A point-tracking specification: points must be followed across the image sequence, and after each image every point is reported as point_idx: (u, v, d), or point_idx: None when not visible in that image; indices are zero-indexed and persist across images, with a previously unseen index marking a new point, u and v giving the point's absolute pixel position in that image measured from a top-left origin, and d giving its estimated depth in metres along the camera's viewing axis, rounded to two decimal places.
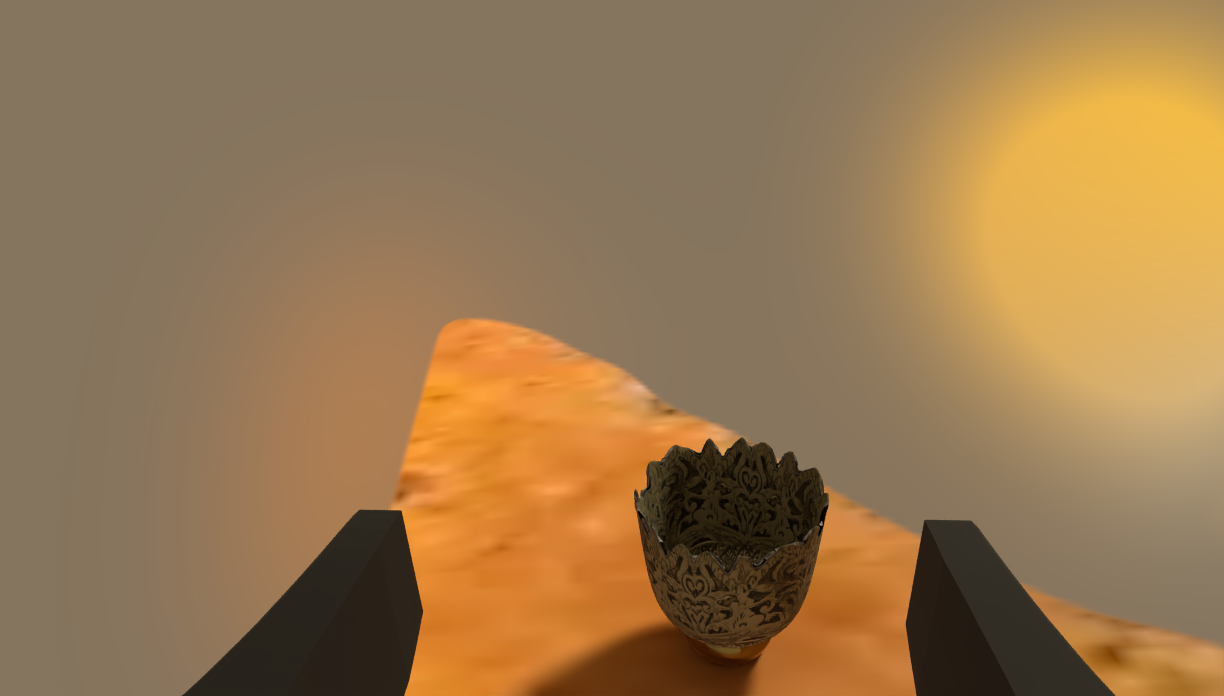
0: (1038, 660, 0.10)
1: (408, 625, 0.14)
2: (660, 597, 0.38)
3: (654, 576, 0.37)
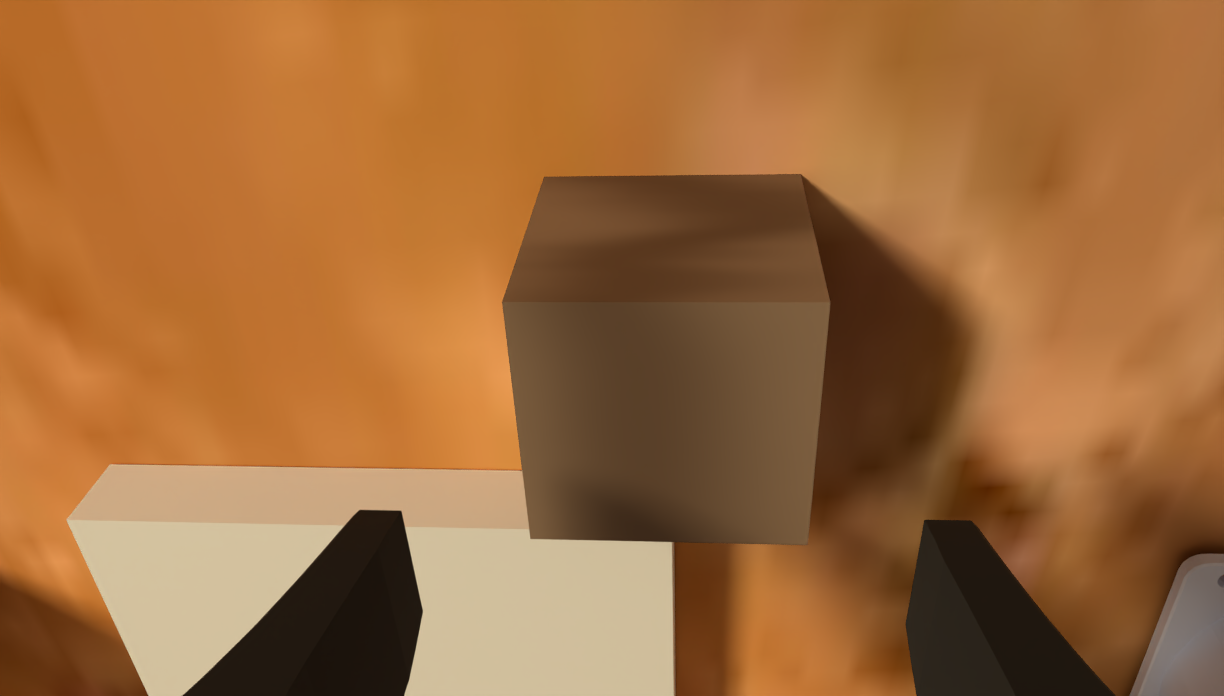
0: (1038, 660, 0.10)
1: (408, 625, 0.14)
2: None
3: None
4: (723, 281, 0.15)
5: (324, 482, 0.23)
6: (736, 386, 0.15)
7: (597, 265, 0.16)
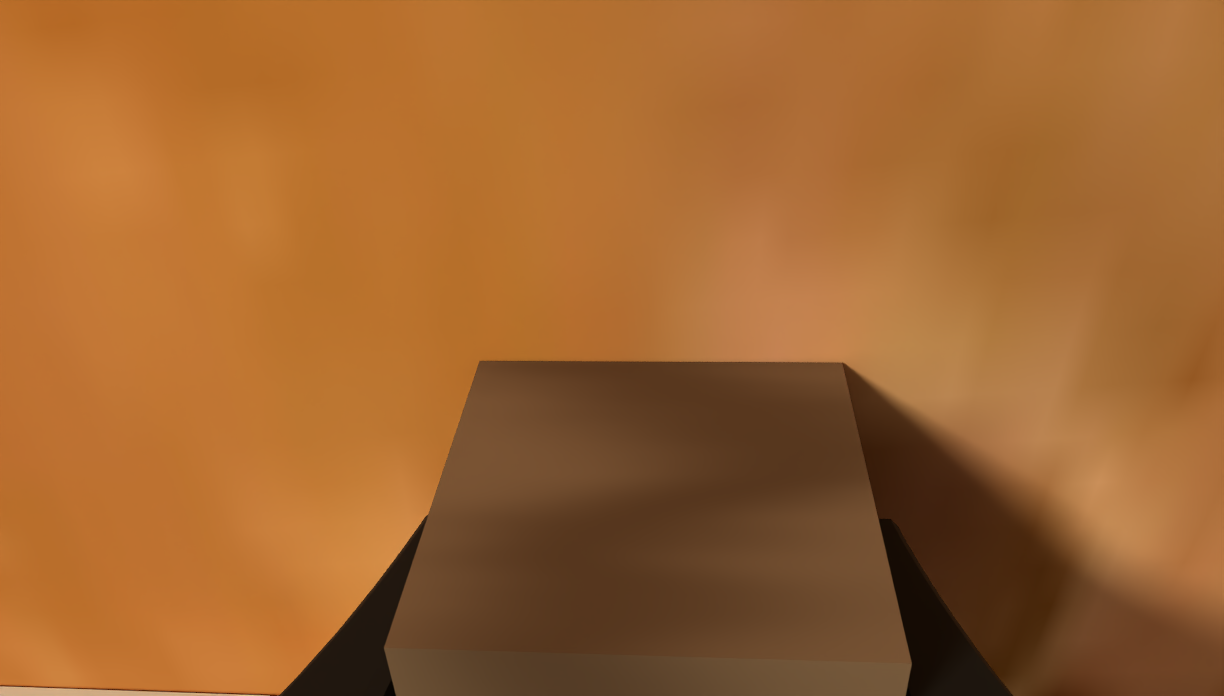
0: (937, 657, 0.10)
1: None
2: None
3: None
4: (737, 604, 0.10)
5: None
6: None
7: (540, 558, 0.10)
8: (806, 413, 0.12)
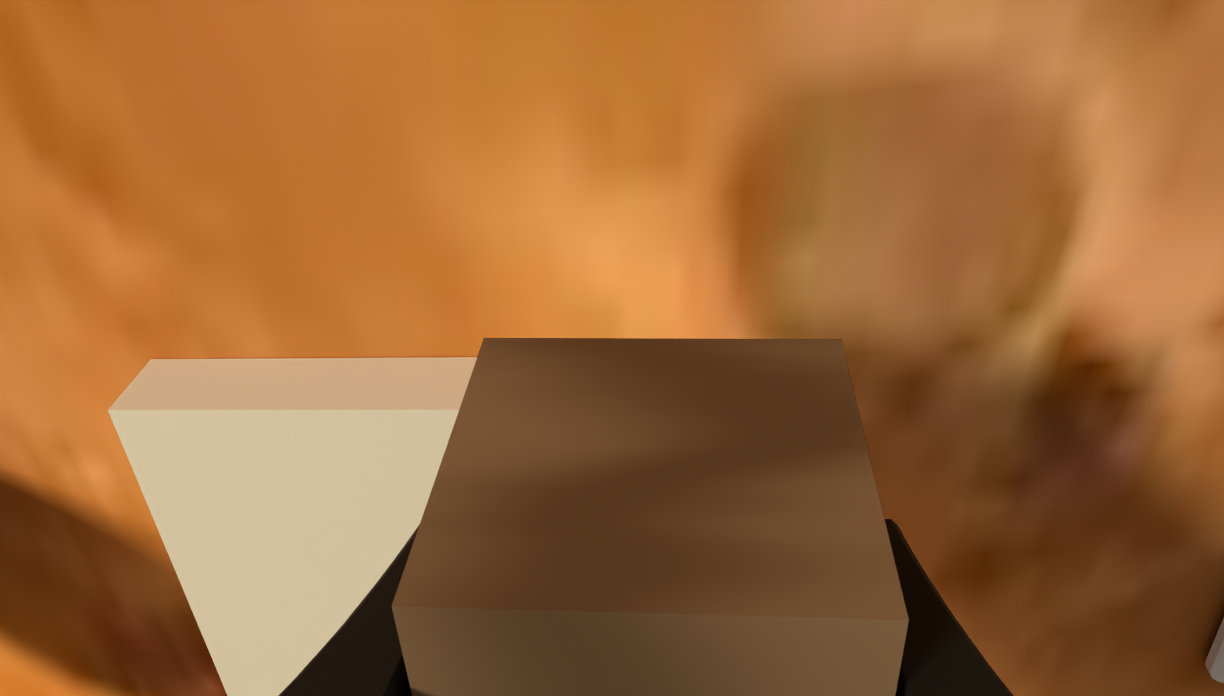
0: (938, 657, 0.10)
1: None
2: None
3: None
4: (738, 565, 0.10)
5: (379, 371, 0.22)
6: None
7: (545, 522, 0.10)
8: (805, 387, 0.12)
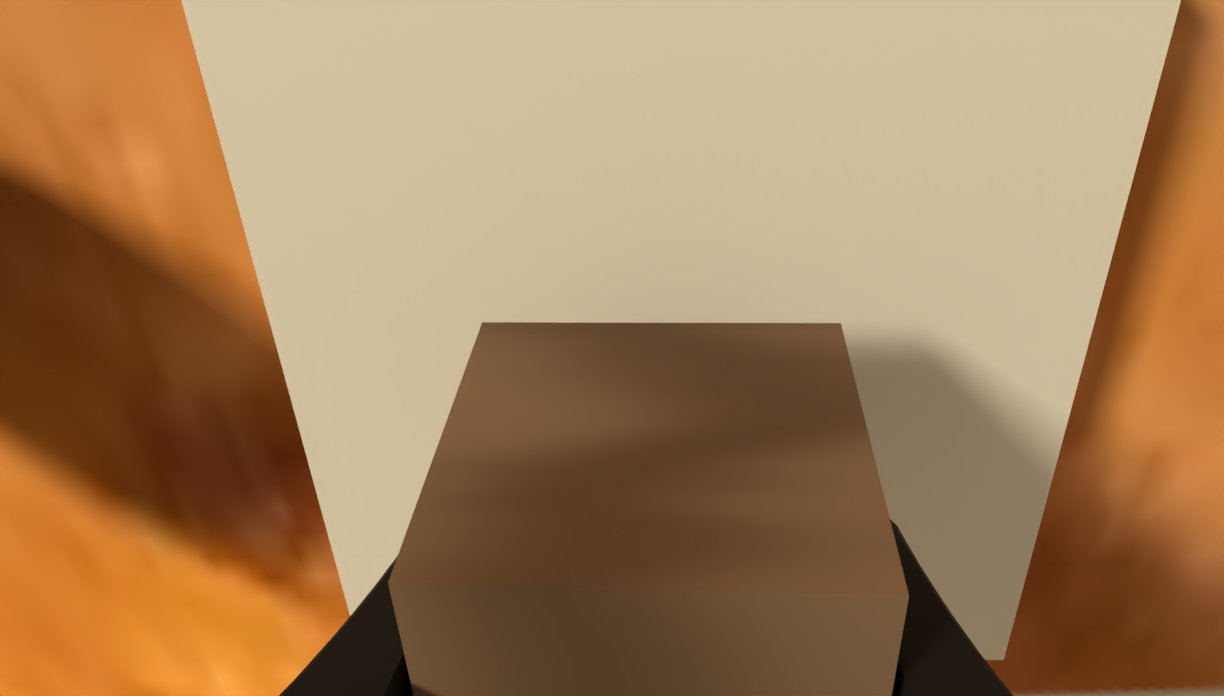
0: (937, 657, 0.10)
1: None
2: None
3: None
4: (736, 542, 0.10)
5: None
6: None
7: (543, 501, 0.10)
8: (805, 369, 0.12)
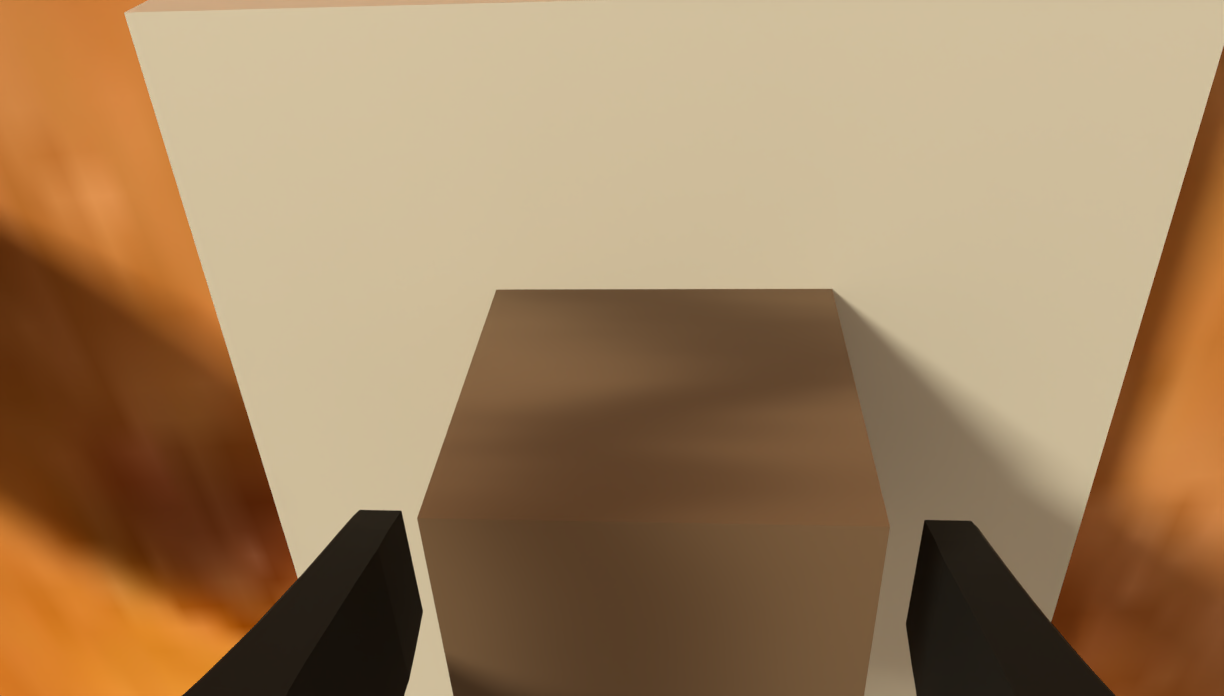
0: (1038, 660, 0.10)
1: (408, 625, 0.14)
2: None
3: None
4: (733, 481, 0.11)
5: None
6: (752, 626, 0.11)
7: (556, 447, 0.11)
8: (798, 330, 0.13)
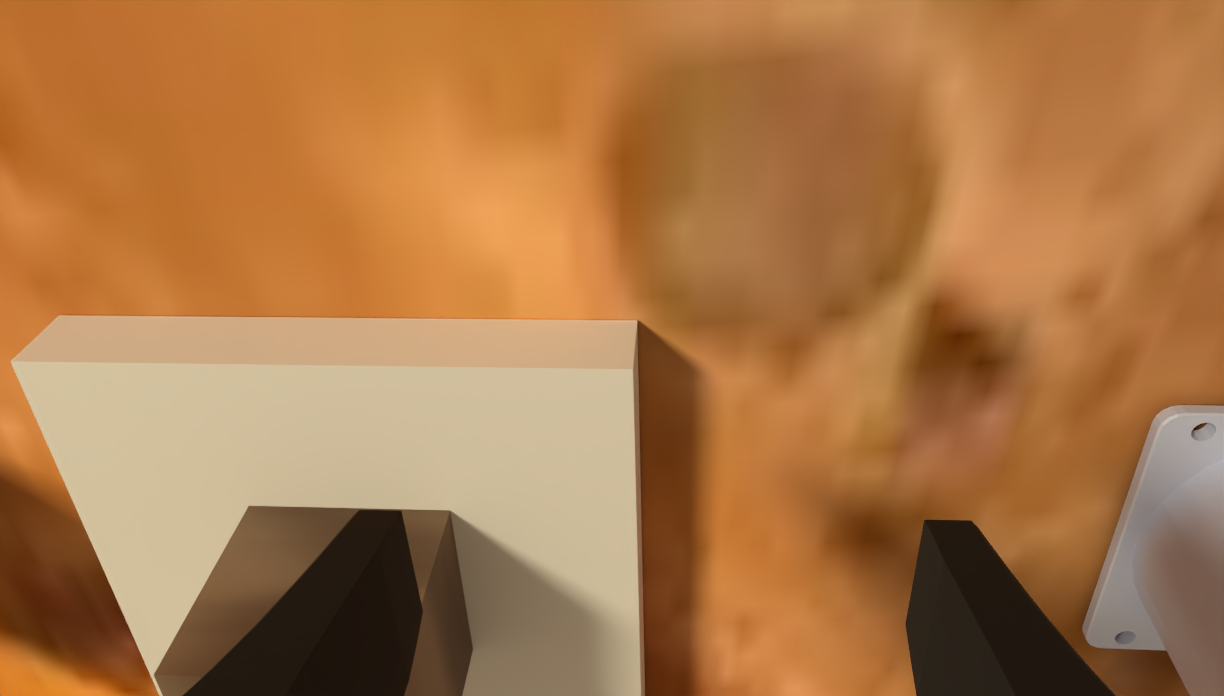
0: (1038, 660, 0.10)
1: (408, 625, 0.14)
2: None
3: None
4: None
5: (278, 329, 0.22)
6: None
7: (242, 629, 0.20)
8: (414, 544, 0.22)
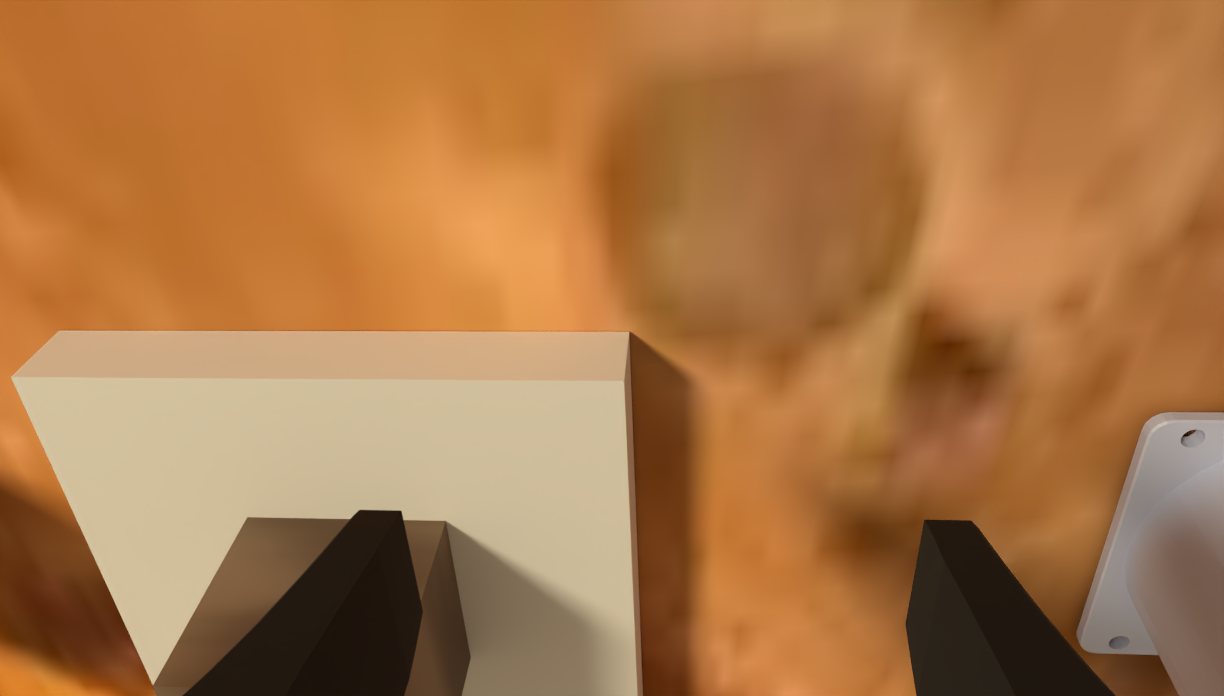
0: (1038, 660, 0.10)
1: (408, 625, 0.14)
2: None
3: None
4: None
5: (274, 342, 0.23)
6: None
7: None
8: None
